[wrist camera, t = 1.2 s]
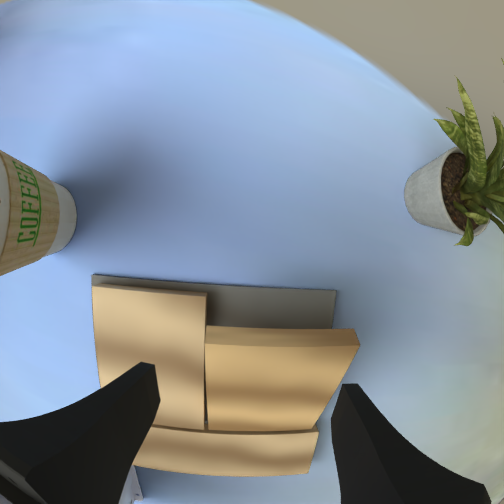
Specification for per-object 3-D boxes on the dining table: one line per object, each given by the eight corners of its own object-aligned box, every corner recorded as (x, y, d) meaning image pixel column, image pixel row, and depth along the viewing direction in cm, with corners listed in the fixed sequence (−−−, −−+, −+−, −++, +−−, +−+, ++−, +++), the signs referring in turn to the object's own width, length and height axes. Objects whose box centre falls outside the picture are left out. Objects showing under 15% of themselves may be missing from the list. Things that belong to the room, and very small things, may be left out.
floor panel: (304, 461, 24) (308, 473, 23) (115, 449, 23) (109, 459, 21) (334, 289, 23) (343, 294, 21) (93, 274, 22) (83, 277, 20)
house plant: (467, 133, 24) (577, 95, 7) (480, 257, 25) (600, 273, 8) (362, 115, 23) (485, 18, 6) (377, 271, 24) (537, 317, 7)
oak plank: (309, 416, 23) (311, 428, 22) (209, 416, 23) (208, 429, 21) (353, 328, 17) (360, 345, 16) (206, 325, 16) (204, 343, 15)
